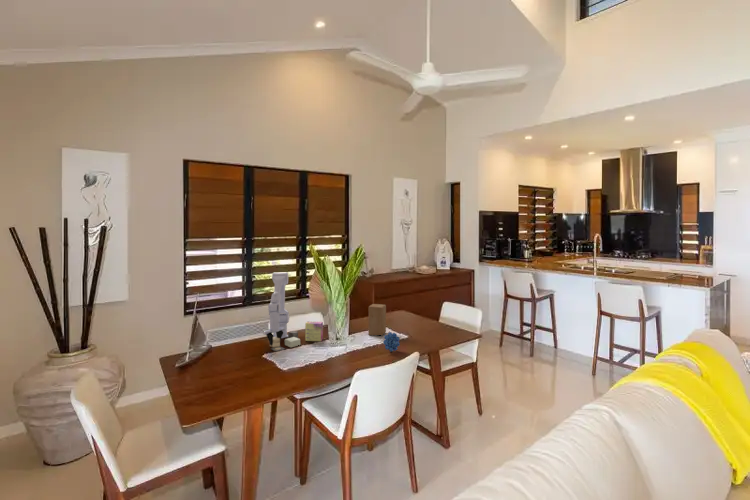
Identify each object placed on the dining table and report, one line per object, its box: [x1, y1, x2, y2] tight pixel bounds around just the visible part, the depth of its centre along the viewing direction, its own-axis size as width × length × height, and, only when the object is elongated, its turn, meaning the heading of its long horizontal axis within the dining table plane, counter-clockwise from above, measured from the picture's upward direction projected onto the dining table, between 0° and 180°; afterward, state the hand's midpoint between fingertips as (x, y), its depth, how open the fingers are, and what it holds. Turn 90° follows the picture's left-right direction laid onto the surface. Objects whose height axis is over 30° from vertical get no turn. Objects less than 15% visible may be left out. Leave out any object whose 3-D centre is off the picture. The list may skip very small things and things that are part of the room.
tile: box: [270, 346, 286, 352], centre depth 228 cm, size 6×6×1 cm
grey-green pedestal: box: [284, 337, 301, 348], centre depth 237 cm, size 7×7×4 cm
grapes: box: [382, 331, 401, 353], centre depth 223 cm, size 12×7×12 cm, turn 121°
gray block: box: [287, 330, 299, 339], centre depth 248 cm, size 4×4×5 cm
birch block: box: [269, 337, 281, 348], centre depth 234 cm, size 4×4×5 cm
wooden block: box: [367, 303, 387, 336], centre depth 262 cm, size 10×10×20 cm
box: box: [304, 320, 324, 342], centre depth 247 cm, size 10×6×12 cm, turn 84°
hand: (274, 343), depth 234 cm, fingers closed on birch block, 4 cm apart
